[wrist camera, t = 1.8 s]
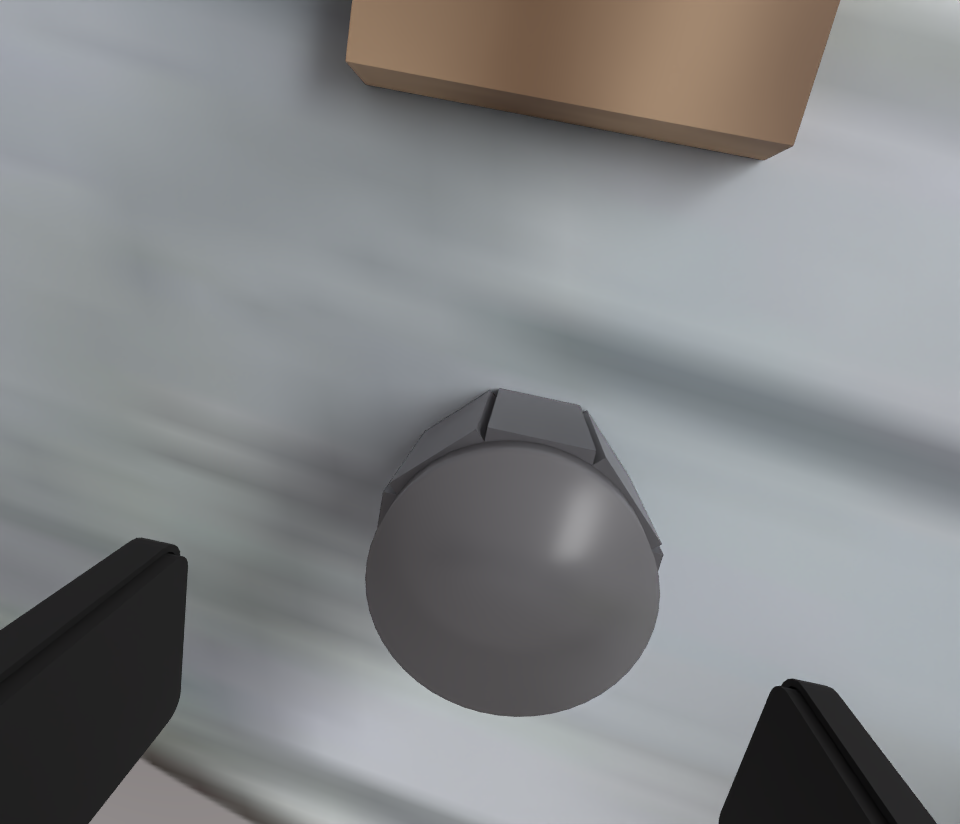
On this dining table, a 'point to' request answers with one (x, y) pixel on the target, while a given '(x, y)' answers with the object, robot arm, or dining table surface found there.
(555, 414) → the cap
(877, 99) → the dining table surface
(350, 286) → the dining table surface
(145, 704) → the robot arm
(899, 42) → the dining table surface
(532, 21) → the stud block
